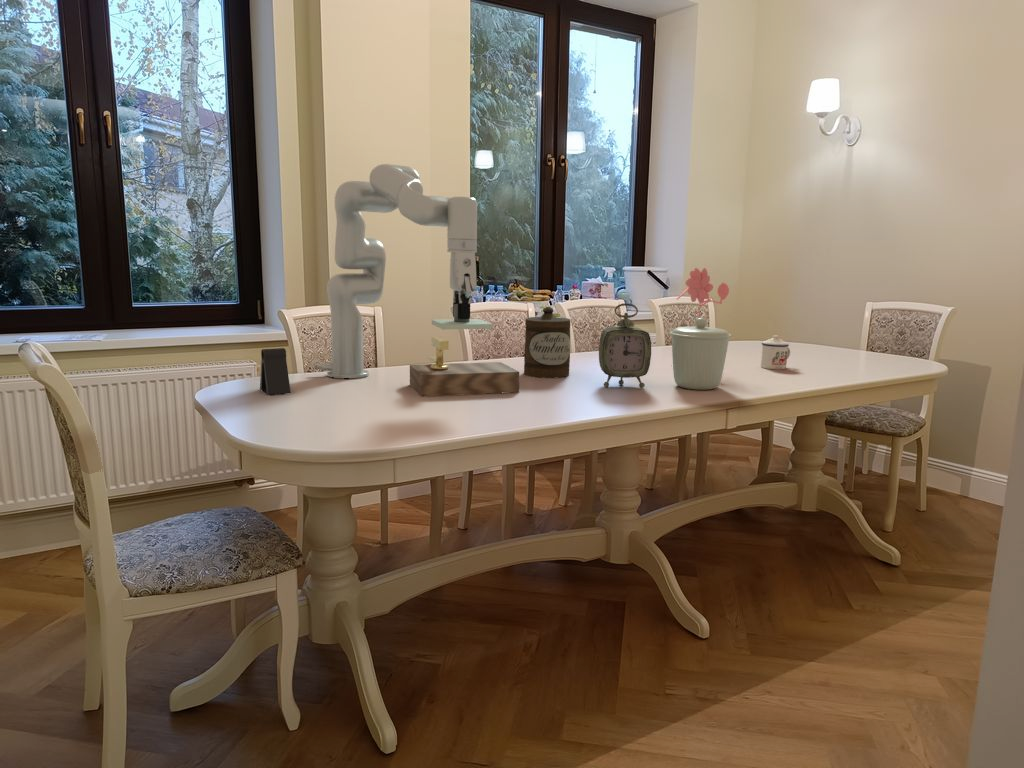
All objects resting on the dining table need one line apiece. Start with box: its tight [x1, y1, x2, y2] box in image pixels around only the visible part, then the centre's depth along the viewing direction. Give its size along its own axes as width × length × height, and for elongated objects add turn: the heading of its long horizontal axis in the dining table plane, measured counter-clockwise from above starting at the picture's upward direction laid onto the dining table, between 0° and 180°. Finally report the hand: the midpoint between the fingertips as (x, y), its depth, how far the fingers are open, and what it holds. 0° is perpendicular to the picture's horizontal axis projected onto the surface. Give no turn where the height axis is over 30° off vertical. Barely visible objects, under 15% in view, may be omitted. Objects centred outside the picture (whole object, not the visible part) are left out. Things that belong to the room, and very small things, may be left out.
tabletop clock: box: [598, 303, 652, 389], centre depth 223 cm, size 14×9×25 cm, turn 92°
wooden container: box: [523, 306, 571, 379], centre depth 242 cm, size 15×15×22 cm
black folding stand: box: [259, 347, 291, 396], centre depth 204 cm, size 9×6×12 cm, turn 32°
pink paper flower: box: [676, 267, 730, 327], centre depth 262 cm, size 15×26×35 cm, turn 28°
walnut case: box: [409, 361, 520, 398], centre depth 215 cm, size 28×18×6 cm, turn 108°
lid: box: [431, 304, 494, 330], centre depth 193 cm, size 13×13×6 cm
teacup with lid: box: [760, 334, 791, 371], centre depth 266 cm, size 12×9×12 cm
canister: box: [669, 317, 732, 391], centre depth 224 cm, size 18×18×21 cm
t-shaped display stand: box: [427, 336, 449, 370], centre depth 214 cm, size 15×5×8 cm, turn 20°
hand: (461, 317), depth 193 cm, fingers closed on lid, 4 cm apart
